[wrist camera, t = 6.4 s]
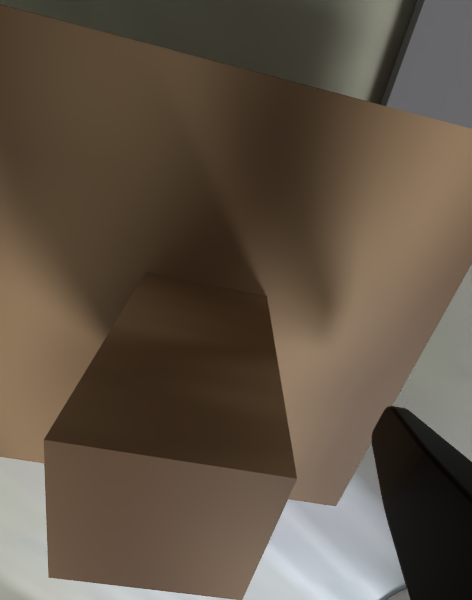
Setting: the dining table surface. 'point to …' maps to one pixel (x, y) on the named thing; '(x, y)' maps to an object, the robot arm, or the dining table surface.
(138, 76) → the lid
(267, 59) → the dining table surface
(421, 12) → the mat
